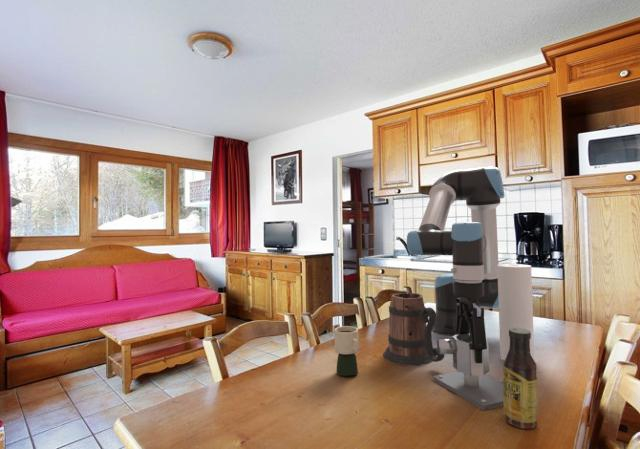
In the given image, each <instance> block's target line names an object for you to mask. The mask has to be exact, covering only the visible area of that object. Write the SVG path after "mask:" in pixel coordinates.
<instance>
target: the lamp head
mask: <svg viewBox="0 0 640 449" xmlns="http://www.w3.org/2000/svg"><path fill="white" fill-rule="evenodd" d="M486 343H487V349H484V350H483V373H484V375H485V374H486V375H487V374H488V373H489V372H490V357H489V352H490V350H489V339H487V338H486ZM436 347H437V349H438V352H439V354H444V355H452V367H453V368H454V369H455V371H458V372H461V373H464V374H468V375H472V374H471V350H470V349H469V347H472V343H471V337H470V334H456V335H454V336H452V335H451V338H438V339H437V340H436Z"/></svg>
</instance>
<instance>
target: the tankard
mask: <svg viewBox="0 0 640 449" xmlns="http://www.w3.org/2000/svg"><path fill="white" fill-rule="evenodd" d="M388 313H389V318H388V319H389V324H388V325H389V328H388V329H389V331H388V332H389V333H388V335H387V336H388V337H387V338H388V339H387V341H388V346H387V347H386V349H385V350H384V352H382V356H383V358H384V359H385V360H386V361H388V362H391V363H394V364H397V365H403V366H410V367H411V366H412V367H413V366H425V365H428V364H431V363H433V362H434V363H438V362H441V361H443V359H444V358H445V354H439V352H438V349H437V346H436V347H434V346H433V337H432V336H433V335H432V334H433V330H432V329H433V326H434V324H435V321H436V310H434V308H432V307H426V306H425V301H424V297H423V295H422V294H420V293H413V292H412V293H405V292H402V293H401V292H400V293H393V294H391V296H390V304H389V305H388Z"/></svg>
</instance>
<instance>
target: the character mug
mask: <svg viewBox="0 0 640 449" xmlns="http://www.w3.org/2000/svg"><path fill="white" fill-rule="evenodd" d="M333 334H334V337H333V338H334V351H335V353H337V354H338V355H337V361H336V374H337V375H340V376H346V377H348V376H349V377H350V376H353V375H357V374H358V373H359V369H358V362H357V356H356V353H357V352H358V351H359V350H360V346H359V338H360V337H359V336H360V335H359V328H358V327H356V326H349V325H343V326H337V327H336V328H334V331H333Z"/></svg>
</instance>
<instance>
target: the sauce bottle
mask: <svg viewBox="0 0 640 449" xmlns="http://www.w3.org/2000/svg"><path fill="white" fill-rule="evenodd" d="M509 337H510V347H509V348H510V349H509V351H508V354H507V357H506V359H505V360H504V363H503V365H502V366H503V368H502V369H503V371H502V372H503V375H502V378H503V379H502V382H503V403H504V405H503V415H504V419H505V421H506V422H507V423H508V424H509V425H512V426H513V427H515V428H517V429H523V430H530V429H531V430H532V429H534V428H536V426H537V420H538V377H537V363H536V361H535V358H534V359H533V358H532V356H531V354H530V338H531V332H530V331H529V330H526V329H522V328H510V329H509Z"/></svg>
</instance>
